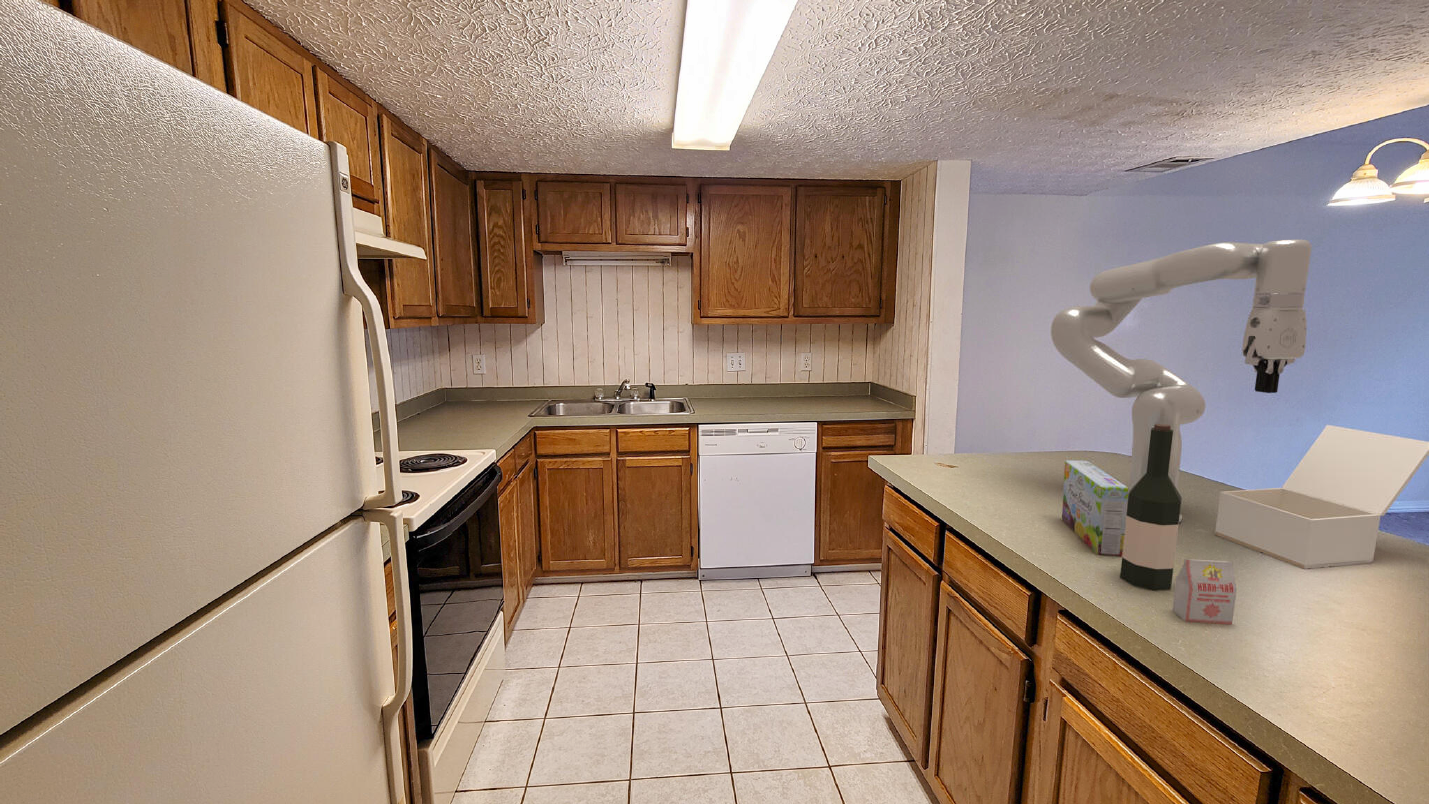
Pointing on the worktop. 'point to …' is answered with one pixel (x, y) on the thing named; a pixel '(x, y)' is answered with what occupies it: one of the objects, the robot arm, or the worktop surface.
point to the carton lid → (1358, 468)
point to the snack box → (1095, 507)
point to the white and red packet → (1205, 591)
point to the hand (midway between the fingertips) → (1265, 391)
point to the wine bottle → (1152, 519)
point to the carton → (1298, 527)
